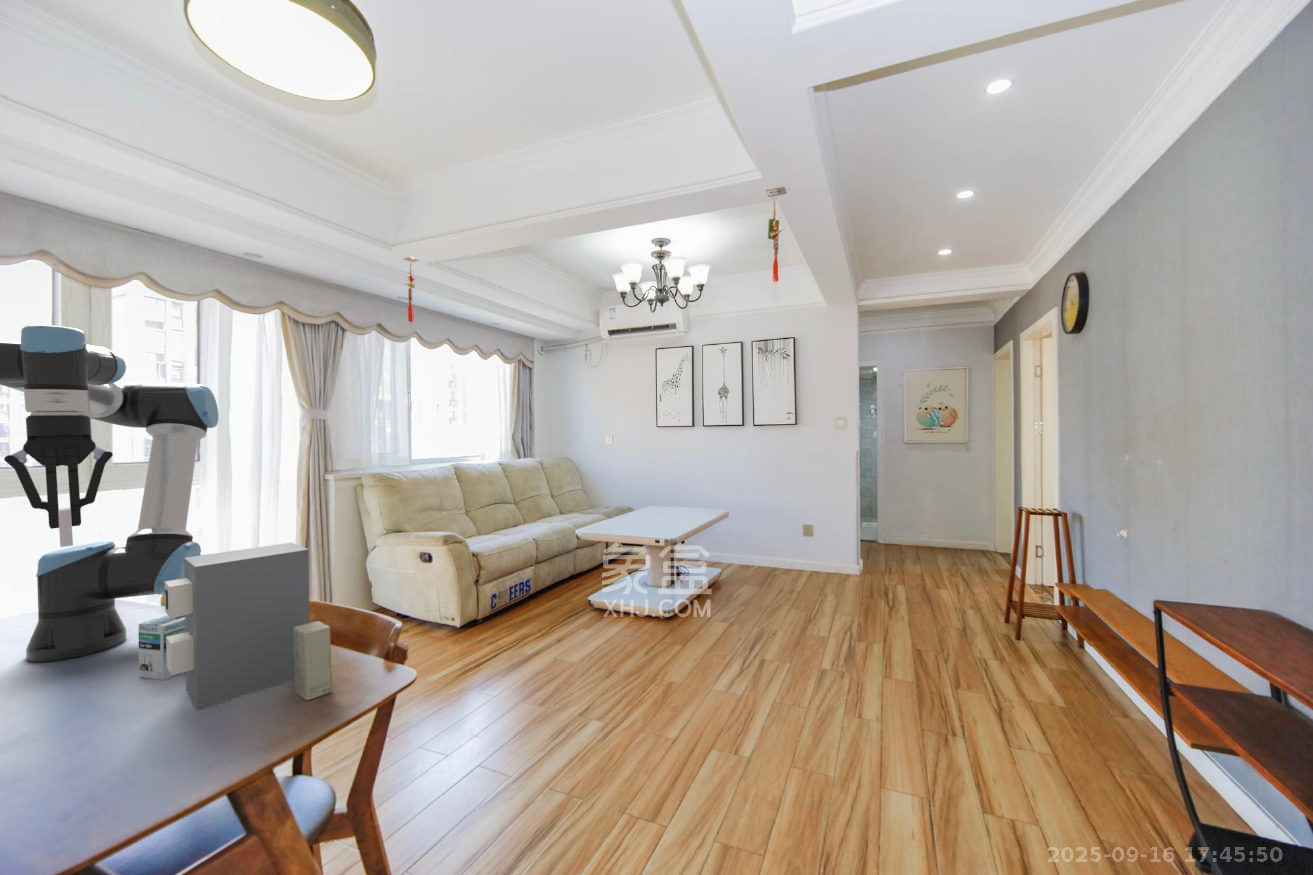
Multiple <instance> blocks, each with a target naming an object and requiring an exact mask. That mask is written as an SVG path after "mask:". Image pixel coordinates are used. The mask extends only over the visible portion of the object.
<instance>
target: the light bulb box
mask: <svg viewBox="0 0 1313 875" xmlns="http://www.w3.org/2000/svg"><path fill="white" fill-rule="evenodd" d="M181 633H185V615H182V616H177V617H173V618H170V617H169V616H168V615H167V614H166V615H165V616H161V617H158V618H154V619H151V620H148V621H145V622H141V623H138V678H144V679H154V680H160V681H161V680H162V681H164V680H167V679H169V678H172V677H174V676H177V675H178V674H175V675H171V674H170V672H169V670H168V668H167V655H166V637H168V636H172V635H177V634H181Z"/></svg>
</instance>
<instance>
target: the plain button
mask: <svg viewBox="0 0 1313 875" xmlns="http://www.w3.org/2000/svg"><path fill="white" fill-rule="evenodd" d="M166 655H167V668H168V670H169V672H170V674H171V675H174V676H176V675H175V674H177V675H179V674H183V673H186V671H190V670H194V638H193V636H192V635H191V634H190V632H186V633H181V634H177V635H172V636H168V637H166Z"/></svg>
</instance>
